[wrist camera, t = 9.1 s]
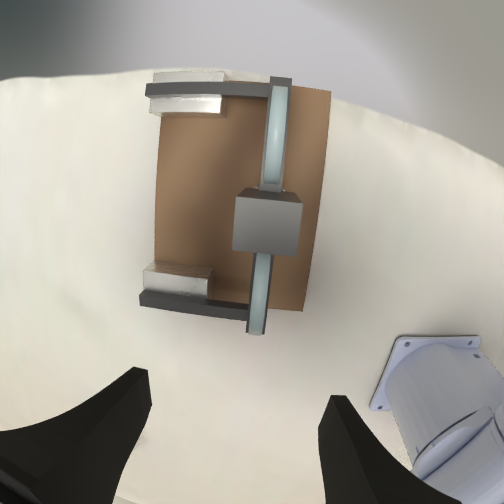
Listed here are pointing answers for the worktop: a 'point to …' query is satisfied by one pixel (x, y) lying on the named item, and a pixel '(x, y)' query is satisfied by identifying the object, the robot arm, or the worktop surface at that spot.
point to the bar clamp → (247, 205)
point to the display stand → (229, 190)
